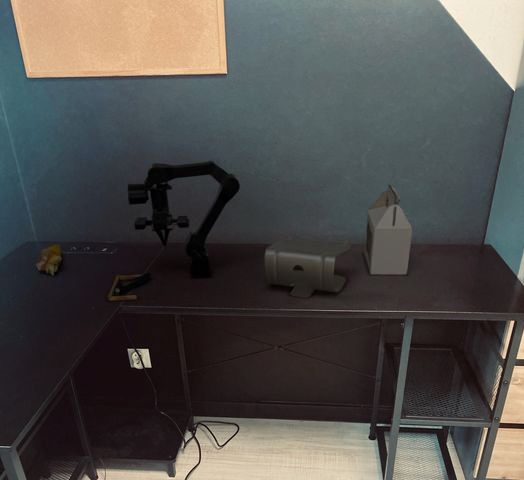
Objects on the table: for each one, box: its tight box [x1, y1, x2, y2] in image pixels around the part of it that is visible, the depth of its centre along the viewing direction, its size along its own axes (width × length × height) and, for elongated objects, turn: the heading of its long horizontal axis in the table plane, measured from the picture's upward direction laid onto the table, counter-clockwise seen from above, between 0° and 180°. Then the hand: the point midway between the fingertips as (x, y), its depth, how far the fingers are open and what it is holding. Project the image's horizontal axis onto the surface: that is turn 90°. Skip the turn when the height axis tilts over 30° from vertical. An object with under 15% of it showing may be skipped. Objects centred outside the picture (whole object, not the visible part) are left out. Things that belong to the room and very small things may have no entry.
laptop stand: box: [264, 234, 352, 298], centre depth 184 cm, size 26×24×16 cm
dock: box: [107, 274, 142, 301], centre depth 188 cm, size 10×19×2 cm, turn 4°
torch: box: [35, 243, 63, 276], centre depth 208 cm, size 8×8×25 cm
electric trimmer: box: [114, 272, 152, 296], centre depth 189 cm, size 4×16×3 cm, turn 143°
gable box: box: [363, 184, 413, 276], centre depth 196 cm, size 22×13×28 cm, turn 176°
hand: (165, 245), depth 191 cm, fingers closed
